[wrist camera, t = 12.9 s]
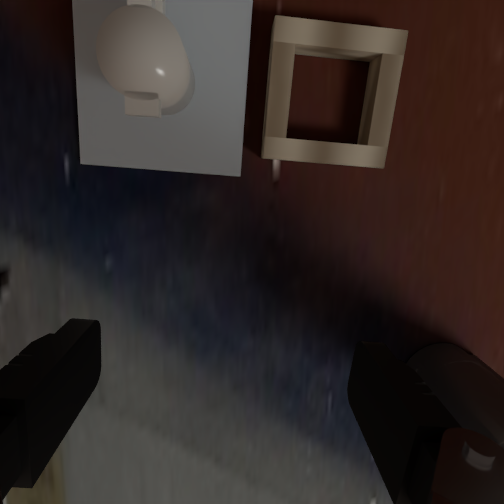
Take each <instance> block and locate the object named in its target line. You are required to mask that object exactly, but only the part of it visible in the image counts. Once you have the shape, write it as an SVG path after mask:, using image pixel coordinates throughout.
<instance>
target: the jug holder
mask: <svg viewBox="0 0 504 504" xmlns="http://www.w3.org/2000/svg"><path fill="white" fill-rule="evenodd" d="M407 36H408V31H407V30H398V29H390V28H381V27H373V26H364V25H355V24H347V23H338V22H330V21H321V20H312V19H304V18H295V17H287V16H278V15H275V19H274V22H273V25H272V30H271V42H270V54H269V66H268V77H267V89H266V101H265V113H264V125H263V137H262V149H261V158H265V159H277V160H289V161H301V162H313V163H325V164H336V165H348V166H360V167H372V168H384V165H385V159H386V154H387V148H388V142H389V137H390V131H391V126H392V120H393V114H394V109H395V103H396V97H397V92H398V86H399V81H400V75H401V69H402V64H403V58H404V53H405V47H406V41H407ZM295 54H299V55H309V56H318V57H327V58H336V59H346V60H355V61H364V62H370V64H369V71H368V77H367V83H366V90H365V96H364V103H363V109H362V116H361V122H360V129H359V135H358V142H357V144H345V143H334V142H323V141H312V140H300V139H289V138H286V133H287V123H288V114H289V104H290V94H291V84H292V74H293V65H294V55H295Z"/></svg>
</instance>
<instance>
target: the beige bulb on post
mask: <svg viewBox="0 0 504 504" xmlns="http://www.w3.org/2000/svg"><path fill="white" fill-rule="evenodd" d="M96 55H97V60H98V64H99V67H100V69H101V71H102V73H103V75H104V77H105V78H106V80H107V81H108V82H109V83H110V85H111V86H112V87H113V88H114V89H115V90H117V91H118V92H119V93H121V94H123V95H124V98H125V114H126V115H128V116H138V117H152V118H161V115H172V114H176V113H178V112H180V111H182V110H183V109H184V108H185V107H186V106H187V105H188V104H189V103H190V101H191V99H192V97H193V94H194V90H195V76H194V72H193V69H192V67H191V64H190V62H189V59H188V56H187V54H186V51H185V48H184V46H183V43H182V41H181V38H180V36H179V33H178V32H177V30H176V28H175V27H174V25H173V24H172V22H171V21H170V20H169V19H168V18H167V17H166V16H165V0H127V5H126V6H122V7H120V8H118V9H116V10H114V11H113V12H112V13H110V14H109V15H108V16H107V17H106V19H105V20H104V21H103V23H102V25H101V27H100V29H99V31H98V35H97V40H96Z"/></svg>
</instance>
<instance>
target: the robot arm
mask: <svg viewBox="0 0 504 504" xmlns="http://www.w3.org/2000/svg"><path fill="white" fill-rule="evenodd" d="M100 372H101V327H100V323H99V321H98V320H87V319H74V318H72V319H70V320H69V321H68V322H67V323H65V324H64V325H63V326H62V327H61V328H60V329H59V330H58V331H57V332H56V333H55V334H51V333H49V334H47V335H45V336H43V337H41V338H39V339H37V340H35V341H33V342H31V343H30V344H29V345H28V346H27V347H26V348H24V349H23V350H22V351H21V352H20V353H19V356H18V355H17V356H15V357H14V358H13V359H12V360H11V361H10V362H9V364H8V365H5V366H4V367H3V368H2V369H1V370H0V504H3V502H2V500H3V499H4V498H5V496H6V495H7V493H8V492H9V490H10V489H11V488H12V487H19V488H32V487H33V486H34V484H35V483H36V481H37V480H38V478H39V476H40V475H41V473H42V472H43V470H44V468H45V467H46V465H47V464H48V462H49V460H50V459H51V457H52V456H53V454H54V453H55V451H56V449H57V448H58V446H59V445H60V443H61V441H62V440H63V438H64V437H65V435H66V433H67V432H68V430H69V429H70V427H71V426H72V424H73V422H74V421H75V419H76V418H77V416H78V414H79V413H80V411H81V410H82V408H83V406H84V405H85V403H86V402H87V400H88V398H89V397H90V395H91V394H92V392H93V391H94V389H95V387H96V385H97V383H98V380H99V377H100ZM347 392H348V400H349V404H350V407H351V409H352V411H353V413H354V416H355V418H356V420H357V422H358V425H359V427H360V429H361V431H362V434H363V436H364V438H365V440H366V443H367V445H368V447H369V449H370V452H371V454H372V456H373V458H374V461H375V463H376V465H377V467H378V470H379V472H380V474H381V476H382V479H383V481H384V483H385V486H386V488H387V490H388V492H389V495H390V497H391V499H392V501H393V504H504V378H502V377H501V376H500V375H499V374H498V373H496V372H495V371H494V370H493V369H491V368H490V367H489V366H488V365H486V364H485V363H484V362H483V361H482V360H480V359H479V358H478V357H477V356H475V355H470V354H467V353H466V352H465V351H464V350H463V349H461V348H460V347H458V346H456V345H453V344H449V343H438V344H432V345H429V346H426V347H424V348H423V349H421V350H419V351H418V352H416V353H415V354H414V355H413V356H412V357H411V358H410V359H409V360H408V362H407V363H406V364H405V363H404V362H403V361H401V360H397V359H396V358H395V356H394V355H393V354H392V353H391V351H390V350H389V349H388V347H387V346H386V345H385V344H384V343H377V342H364V341H359V342H358V343H357V345H356V347H355V352H354V356H353V361H352V366H351V371H350V376H349V381H348V388H347Z"/></svg>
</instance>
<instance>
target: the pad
mask: <svg viewBox="0 0 504 504" xmlns="http://www.w3.org/2000/svg"><path fill="white" fill-rule="evenodd" d="M252 4H253V0H165V16H166V17H167V18H168V19H169V20H170V21H171V22H172V24H173V25H174V27H175V28H176V30H177V32H178V33H179V36H180V38H181V41H182V43H183V46H184V48H185V51H186V54H187V56H188V59H189V62H190V64H191V67H192V69H193V72H194V76H195V90H194V94H193V97H192V99H191V101H190V103H189V104H188V105H187V106H186V107H185V108H184V109H183V110H182V111H180V112H178V113H176V114H172V115H161V118H152V117H138V116H128V115H126V114H125V98H124V95H123V94H121V93H119V92H118V91H117V90H115V89H114V88H113V87H112V86H111V85H110V83H109V82H108V81H107V80H106V78H105V77H104V75H103V73H102V71H101V69H100V67H99V64H98V60H97V55H96V40H97V35H98V31H99V29H100V27H101V25H102V23H103V21H104V20H105V19H106V17H107V16H108V15H109V14H110V13H112V12H113V11H114V10H116V9H118V8H120V7H122V6H126V5H127V0H72V7H73V26H74V46H75V65H76V85H77V104H78V124H79V143H80V163H81V164H89V165H101V166H114V167H126V168H139V169H152V170H164V171H177V172H189V173H202V174H214V175H227V176H241V161H242V147H243V133H244V118H245V104H246V90H247V76H248V61H249V47H250V33H251V18H252Z"/></svg>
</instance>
